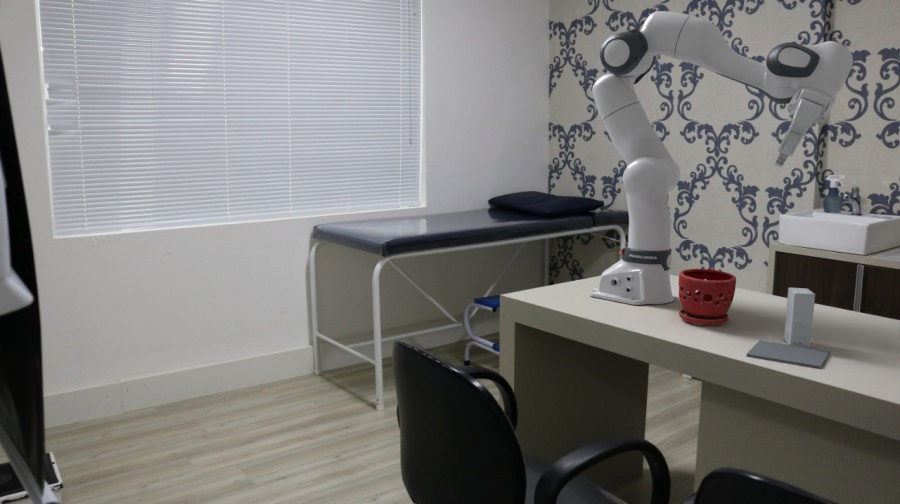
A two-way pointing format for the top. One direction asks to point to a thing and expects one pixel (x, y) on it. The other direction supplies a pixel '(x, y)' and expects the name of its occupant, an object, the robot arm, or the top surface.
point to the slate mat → (789, 354)
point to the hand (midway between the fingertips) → (781, 159)
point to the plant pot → (706, 296)
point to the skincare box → (799, 317)
